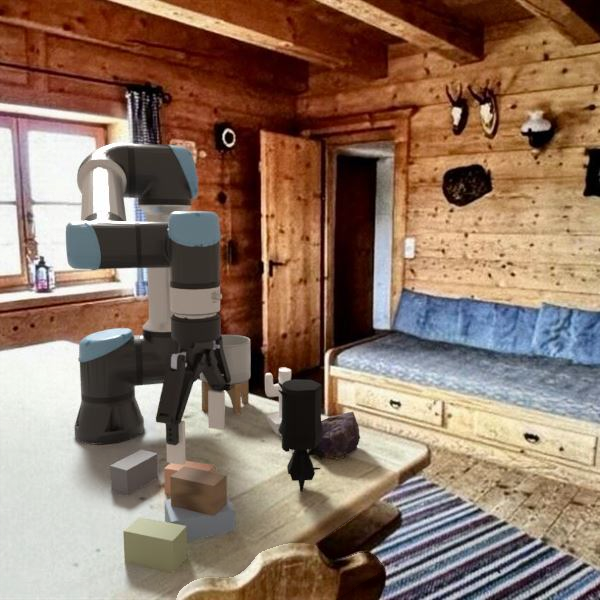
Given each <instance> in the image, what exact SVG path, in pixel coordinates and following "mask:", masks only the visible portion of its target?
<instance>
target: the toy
mask: <svg viewBox="0 0 600 600" xmlns="http://www.w3.org/2000/svg"><path fill="white" fill-rule="evenodd" d="M275 382H277V384H279V385H280V387H281V388H282V391H280V390H278V391H279V392H280V393H281V395H282V421H281V424H280V427H279V430H278V431H279V432H280V434H282V436H281V448H282V450H283V451H284V452H286V453H288V452H290V450H291V451H293V452H292V454H291V457H290V459H289V462H288V464H287V465H286V468H287V474H288V475H290V478H291V481H292V482H295V481H296V482H297V481H298V487H299V491H300V493H302V492H303V491H304V487H305V482H306V481H313V479H314V477H315V474H316V472H315V470H317V471H318V470H322V468H320V467H314V464H313V462H312V459H311V456H312V455H317V456H318V457H319V458H320V460H321V461H323V459H326V458H325V457H324V455H325V454H326V453H324V452H323V451H322V450H321V449H320V448H319V447H318V445H319V443H320V442H321V437H322V430H323V429H322V422H321V421H322V384H321V383H319V382H317V381H315V380H312V379H291V380H288V381H285V382H284V383H283V384H281V383H279V380H276V381H275ZM309 449H312V450H311V451H310V452H309ZM325 456H326V455H325ZM322 457H323V458H322ZM319 458H318V459H319Z"/></svg>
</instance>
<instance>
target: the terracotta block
mask: <svg viewBox="0 0 600 600" xmlns="http://www.w3.org/2000/svg"><path fill="white" fill-rule="evenodd" d="M184 466H185V467H190V468H195V469H200V470H205V471H209V472H214V473H216V472H215V470H216V469H215V464H209V463H208V464H207V463H202V462H196V461H189V460H186V463H185V464H184V465H180V464H174V463H169V464H167V465H166V466H165V467H164V468H163V472H164V473H163V476H164V477H163V478H164V482H163V483H164V494H165V495H169V496H171V484H170V476H172V475H173V474H174V473H176V472H177V471H179V470H180V469H181V468H183V467H184Z"/></svg>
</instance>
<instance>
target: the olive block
mask: <svg viewBox="0 0 600 600" xmlns="http://www.w3.org/2000/svg"><path fill="white" fill-rule="evenodd" d="M122 534H123V549H124V550H123V553H124V555H123V556H124V557H123V558H124V562H125V563H128V564H132V565H137V566H140V567H141V566H142V567H147V568H151V569H154V570H159V571H163V572H168V573H171V574H173V573H175V572H176V570H177V569H179V567H180V566H181V565H182V563H184V561H185V560H186V559H187V558H186V557H188V541H187V526H184V525H179V524H173V523H168V522H165V521H162V520H158V519H157V520H156V519H151V518H147V517H142V516H138V517H137V518H136V519H135V520H134V521H132V522H131V523H130V524H129V525H128V526H126V528H125V529H123V533H122ZM185 558H186V559H185ZM180 564H181V565H180Z"/></svg>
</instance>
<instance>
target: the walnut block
mask: <svg viewBox="0 0 600 600" xmlns="http://www.w3.org/2000/svg"><path fill="white" fill-rule="evenodd" d="M170 484H171V495H170V499H171V506H174V507H178V508H182V509H187V510H191V511H195V512H199V513H203V514H207V515H212V516H215V515H216V514H217V513H218V512H219V511H220V510H221V509H223V508H224V507H225V506H226V505H227V496H228V475H227V474H222V473H218V472H215V473H214V472H209V471H205V470H200V469H195V468H190V467H185V466H184V467H183V468H181V469H180V470H179V471H177V472H176V473H174V474H173V475H172V476H170Z"/></svg>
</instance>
